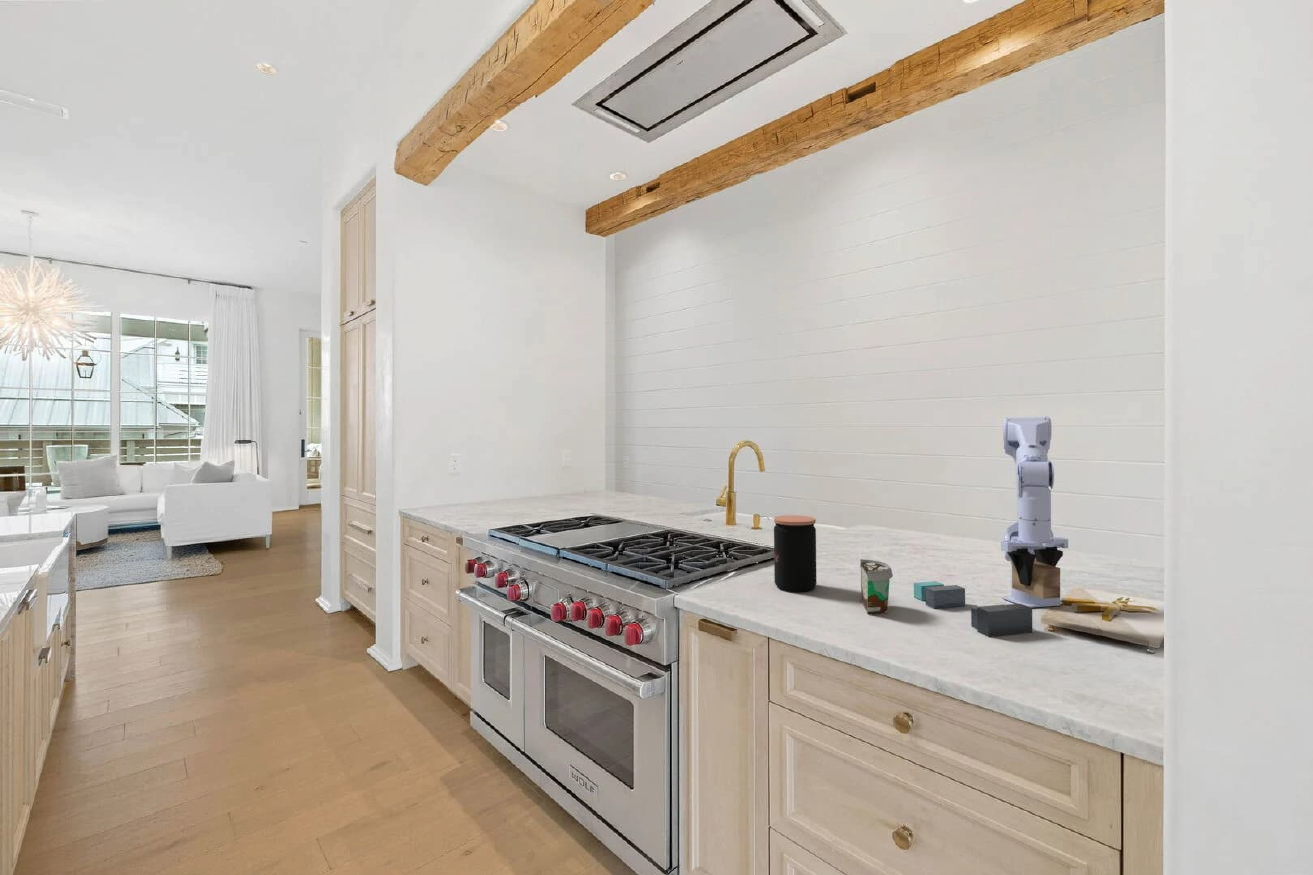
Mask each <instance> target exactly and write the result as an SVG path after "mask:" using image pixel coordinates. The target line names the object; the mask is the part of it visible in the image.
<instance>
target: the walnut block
mask: <svg viewBox="0 0 1313 875" xmlns="http://www.w3.org/2000/svg"><path fill="white" fill-rule="evenodd" d="M1012 588H1013V589H1016V590H1019V591H1022V592H1025V593H1027V594H1030V595H1033V596H1036V597H1039V598H1042V599H1050V598H1060V599H1061V568H1060V567H1057V566H1056V567H1055V566H1051V565H1047V564H1044V563H1040V562H1037V561H1034V563H1033V568H1032V581H1031V586H1026V585H1023V584H1020V581H1019V577H1018V574H1017V571H1016V568H1015V566H1014V563H1013V561H1012Z"/></svg>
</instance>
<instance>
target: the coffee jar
mask: <svg viewBox="0 0 1313 875" xmlns="http://www.w3.org/2000/svg"><path fill="white" fill-rule="evenodd" d="M816 519H817V518H815V517H813V516H807V515H793V514H792V515H779V516H775V517H774V518H773V522H774V523H775V525H774V526H773V557H774V558H773V562H774V567H773V568H774V572H773V573H774V584H775V586H776V587H777V589H778V590H781V591H785V592H790V593H806V592H811V591H813V590H814V589H815V587H816V586H817V529H816V527H815V524H816V521H817V520H816Z"/></svg>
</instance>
